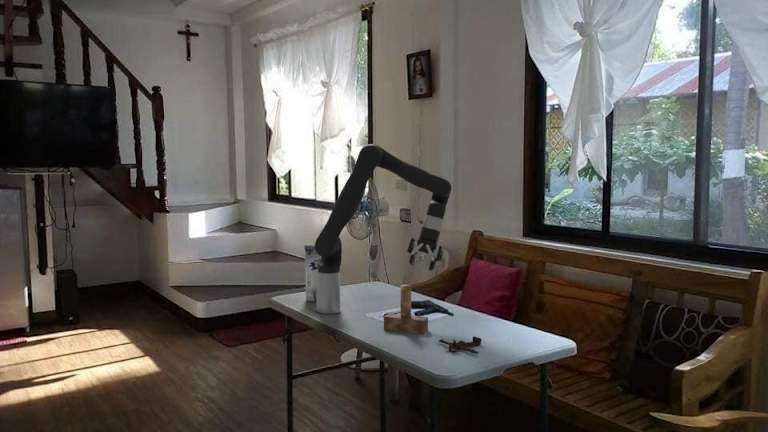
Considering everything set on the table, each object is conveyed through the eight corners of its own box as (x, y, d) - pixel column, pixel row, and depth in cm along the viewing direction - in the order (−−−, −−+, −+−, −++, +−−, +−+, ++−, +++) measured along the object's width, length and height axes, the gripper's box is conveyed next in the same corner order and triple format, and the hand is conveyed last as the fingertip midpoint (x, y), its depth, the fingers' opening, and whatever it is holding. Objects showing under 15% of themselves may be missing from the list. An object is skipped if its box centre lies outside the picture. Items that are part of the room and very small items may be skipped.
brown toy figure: (498, 342, 208) (468, 346, 198) (497, 354, 208) (467, 359, 198) (459, 330, 221) (430, 334, 212) (458, 342, 222) (429, 346, 212)
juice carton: (302, 300, 281) (301, 242, 279) (319, 296, 289) (318, 239, 287) (316, 303, 276) (315, 243, 273) (332, 299, 283) (332, 241, 281)
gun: (423, 322, 248) (455, 317, 254) (423, 315, 247) (455, 311, 254) (396, 307, 269) (426, 303, 275) (397, 301, 269) (426, 297, 275)
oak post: (398, 317, 231) (398, 286, 230) (402, 315, 235) (402, 284, 234) (408, 318, 230) (408, 287, 229) (412, 316, 233) (412, 285, 232)
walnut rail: (383, 329, 233) (383, 316, 233) (388, 326, 238) (388, 313, 238) (423, 333, 227) (423, 320, 227) (427, 330, 232) (427, 317, 231)
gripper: (412, 222, 245) (401, 262, 244) (444, 231, 238) (433, 271, 238) (419, 225, 251) (408, 263, 251) (451, 233, 245) (440, 272, 244)
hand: (420, 267), depth 244 cm, fingers open, 8 cm apart
